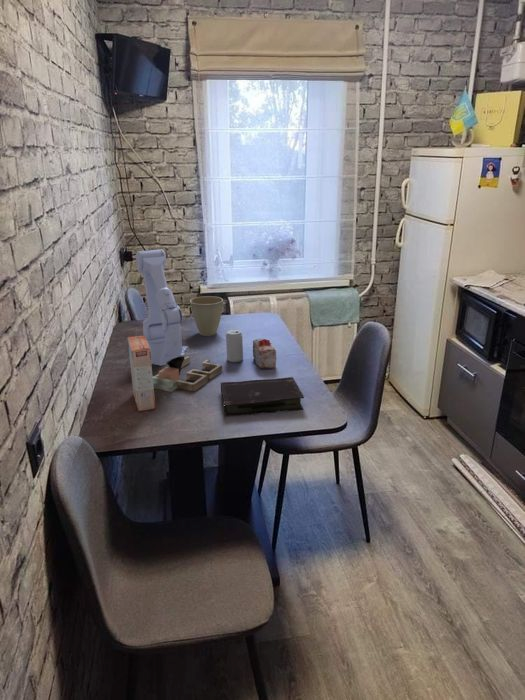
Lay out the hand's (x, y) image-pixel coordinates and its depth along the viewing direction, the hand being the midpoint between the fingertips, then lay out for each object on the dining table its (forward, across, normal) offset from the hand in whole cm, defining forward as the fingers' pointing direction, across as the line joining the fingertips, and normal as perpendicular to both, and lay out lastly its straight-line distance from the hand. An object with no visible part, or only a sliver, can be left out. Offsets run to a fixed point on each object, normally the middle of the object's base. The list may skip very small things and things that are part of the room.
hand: (176, 376), depth 178 cm
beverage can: (+1, +24, -11) cm, 27 cm away
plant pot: (+1, +48, +16) cm, 51 cm away
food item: (+1, +26, -23) cm, 35 cm away
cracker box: (+1, -20, -1) cm, 20 cm away
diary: (+2, -4, -36) cm, 36 cm away
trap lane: (+1, +2, -3) cm, 4 cm away
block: (+1, -4, 0) cm, 4 cm away
